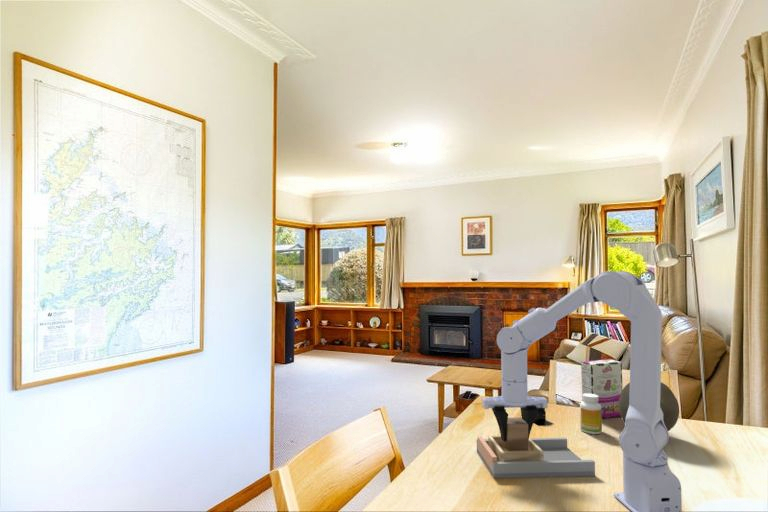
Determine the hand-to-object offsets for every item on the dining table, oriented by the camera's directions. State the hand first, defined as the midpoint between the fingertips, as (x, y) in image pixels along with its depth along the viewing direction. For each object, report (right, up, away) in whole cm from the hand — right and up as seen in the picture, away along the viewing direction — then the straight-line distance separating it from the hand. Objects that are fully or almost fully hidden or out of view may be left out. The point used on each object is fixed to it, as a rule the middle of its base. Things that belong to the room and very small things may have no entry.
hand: (514, 439), depth 100 cm
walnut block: (0, -2, 0) cm, 2 cm away
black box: (+15, -7, +29) cm, 34 cm away
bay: (+4, -5, 0) cm, 7 cm away
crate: (0, -4, 0) cm, 4 cm away
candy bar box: (+36, -7, +33) cm, 49 cm away
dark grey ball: (+40, -6, +16) cm, 44 cm away
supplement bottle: (+27, -6, +20) cm, 34 cm away
